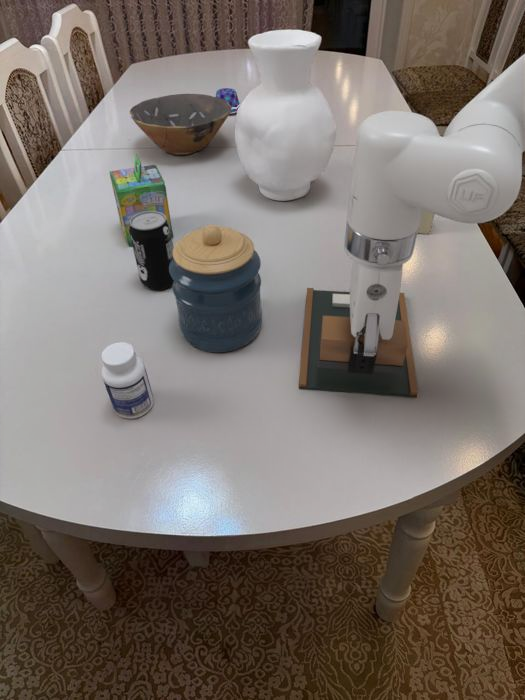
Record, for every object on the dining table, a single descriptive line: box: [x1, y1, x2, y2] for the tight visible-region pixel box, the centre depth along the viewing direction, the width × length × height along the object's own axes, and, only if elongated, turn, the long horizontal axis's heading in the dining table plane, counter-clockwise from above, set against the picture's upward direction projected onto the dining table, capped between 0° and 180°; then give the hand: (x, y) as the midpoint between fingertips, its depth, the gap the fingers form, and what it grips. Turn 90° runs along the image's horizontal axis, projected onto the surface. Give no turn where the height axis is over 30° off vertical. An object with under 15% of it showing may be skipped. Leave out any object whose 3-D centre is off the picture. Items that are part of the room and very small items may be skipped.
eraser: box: [318, 316, 408, 374], centre depth 65 cm, size 11×5×5 cm, turn 83°
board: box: [298, 287, 419, 399], centre depth 75 cm, size 16×22×1 cm
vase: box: [234, 28, 338, 202], centre depth 101 cm, size 19×21×30 cm
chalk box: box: [109, 154, 174, 247], centre depth 95 cm, size 9×9×15 cm
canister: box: [169, 224, 263, 353], centre depth 72 cm, size 13×13×18 cm
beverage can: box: [129, 211, 174, 291], centre depth 83 cm, size 7×7×12 cm
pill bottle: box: [101, 341, 154, 420], centre depth 64 cm, size 5×5×10 cm
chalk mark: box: [332, 294, 350, 308], centre depth 81 cm, size 4×2×1 cm
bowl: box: [129, 93, 232, 156], centre depth 126 cm, size 25×25×10 cm
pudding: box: [215, 87, 243, 115], centre depth 149 cm, size 12×12×5 cm
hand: (359, 355), depth 66 cm, fingers closed on eraser, 5 cm apart
